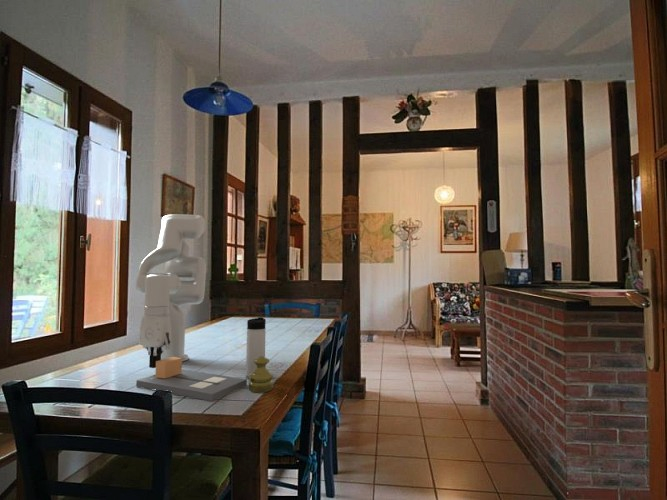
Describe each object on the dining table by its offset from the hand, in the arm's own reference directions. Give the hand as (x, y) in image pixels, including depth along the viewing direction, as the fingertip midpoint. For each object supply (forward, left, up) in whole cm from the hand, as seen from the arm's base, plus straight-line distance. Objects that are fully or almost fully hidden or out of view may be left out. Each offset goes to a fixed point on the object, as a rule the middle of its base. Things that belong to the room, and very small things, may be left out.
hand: (154, 366), depth 129 cm
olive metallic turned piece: (+37, +7, -4) cm, 38 cm away
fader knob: (+6, 0, -2) cm, 7 cm away
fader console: (+16, 0, -4) cm, 17 cm away
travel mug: (+28, +17, -4) cm, 33 cm away
